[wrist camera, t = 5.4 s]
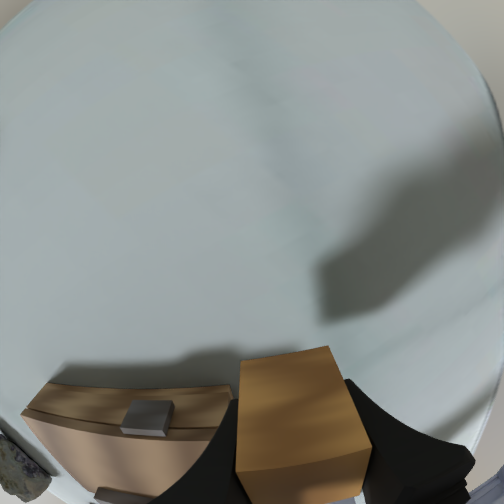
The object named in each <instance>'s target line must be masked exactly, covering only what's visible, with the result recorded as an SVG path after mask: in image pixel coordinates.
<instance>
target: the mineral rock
mask: <svg viewBox="0 0 504 504" xmlns="http://www.w3.org/2000/svg"><path fill="white" fill-rule="evenodd" d="M51 481H52V478H51V476H50V475H49V474H47V473H46V472H45V471H44V470H43V469H41V468H40V467H39V466H38V465H37V464H36V463H35V462H34V461H32V460H31V459H29V458H28V456H27V455H26V454H25V453H24V452H22V451H21V450H20V449H19V447H17V446H16V445H15V444H13V443H12V442H10V441H9V440H7V439H6V437H5V436H4V435H3V434H0V484H1V485H2V488H3V489H4V491H6V492H7V493H9V494H10V495H16V496H17V497H18V498H20V499H21V500H22V501H23V502H29V501H31V500H34V499H36V498H37V497H39V496H40V495H41V494H42V493H43V492H44V491H45V490H46V489H47V488H48V486H49V484H50V483H51Z"/></svg>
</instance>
